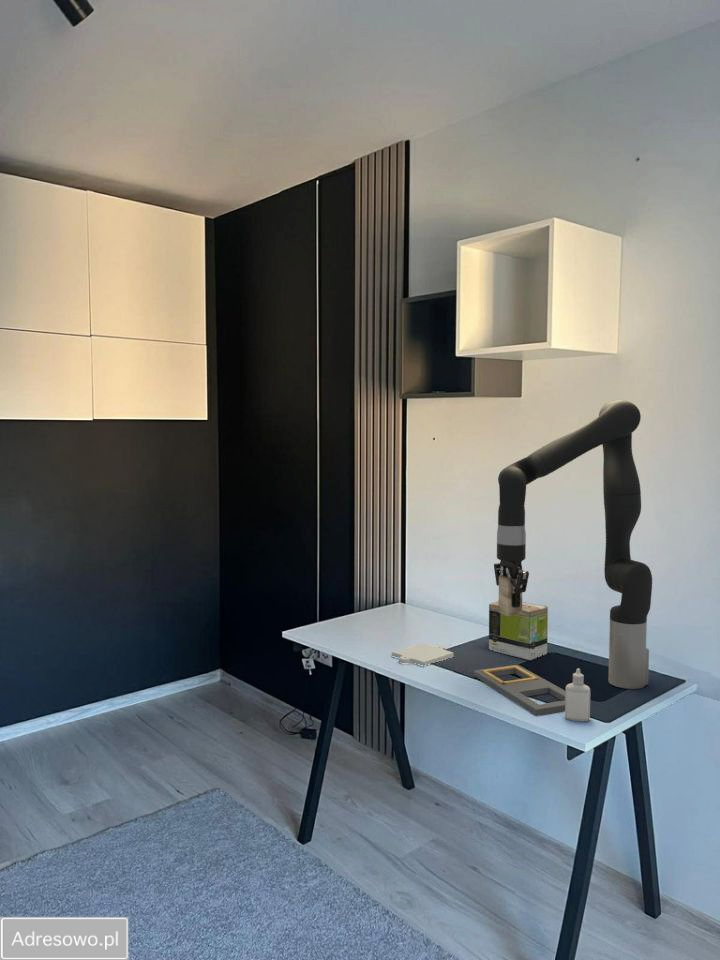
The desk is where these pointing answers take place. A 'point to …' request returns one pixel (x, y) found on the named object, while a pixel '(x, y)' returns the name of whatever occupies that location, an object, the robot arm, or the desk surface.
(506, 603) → the plug
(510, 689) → the dock
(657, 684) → the desk surface
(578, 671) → the eye dropper bottle
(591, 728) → the desk surface
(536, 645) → the tea box
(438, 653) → the mounting plate
